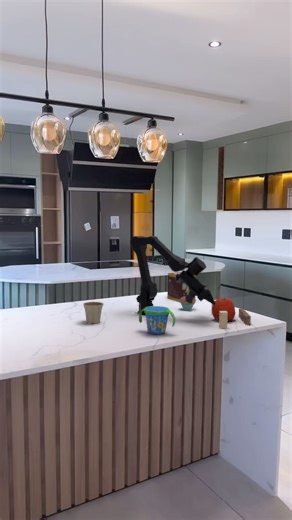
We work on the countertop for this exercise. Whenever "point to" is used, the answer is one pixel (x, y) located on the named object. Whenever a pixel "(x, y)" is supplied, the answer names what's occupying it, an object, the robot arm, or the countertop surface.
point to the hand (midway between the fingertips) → (214, 304)
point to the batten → (245, 316)
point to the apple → (224, 308)
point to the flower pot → (93, 311)
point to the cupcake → (186, 303)
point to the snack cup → (156, 318)
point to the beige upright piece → (222, 318)
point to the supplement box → (176, 287)
